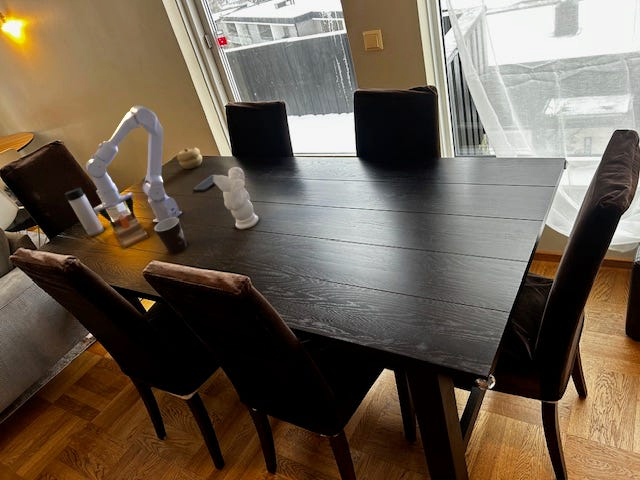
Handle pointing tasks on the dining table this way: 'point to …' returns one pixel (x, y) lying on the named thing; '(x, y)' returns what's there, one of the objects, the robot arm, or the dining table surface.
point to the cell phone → (205, 184)
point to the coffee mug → (171, 235)
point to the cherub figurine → (237, 197)
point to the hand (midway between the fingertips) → (124, 221)
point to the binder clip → (124, 221)
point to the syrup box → (117, 207)
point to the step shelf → (128, 229)
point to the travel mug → (84, 211)
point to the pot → (189, 158)
